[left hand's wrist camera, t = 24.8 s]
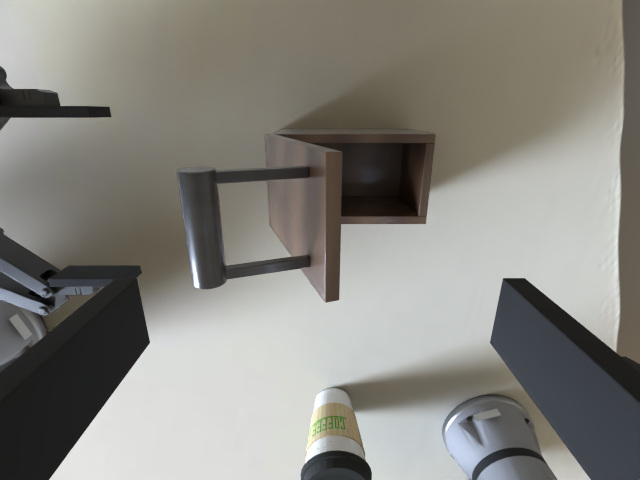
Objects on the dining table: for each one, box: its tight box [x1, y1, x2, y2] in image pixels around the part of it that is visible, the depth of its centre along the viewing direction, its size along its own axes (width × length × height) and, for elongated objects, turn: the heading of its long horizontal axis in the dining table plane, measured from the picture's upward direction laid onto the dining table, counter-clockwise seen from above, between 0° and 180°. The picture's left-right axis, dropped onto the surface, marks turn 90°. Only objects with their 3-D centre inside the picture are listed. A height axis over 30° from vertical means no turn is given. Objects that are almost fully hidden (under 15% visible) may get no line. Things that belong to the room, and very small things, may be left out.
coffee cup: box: [301, 388, 372, 480], centre depth 53 cm, size 10×10×15 cm
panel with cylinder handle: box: [177, 134, 342, 302], centre depth 27 cm, size 17×10×9 cm
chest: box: [272, 129, 435, 224], centre depth 42 cm, size 17×10×11 cm, turn 90°
